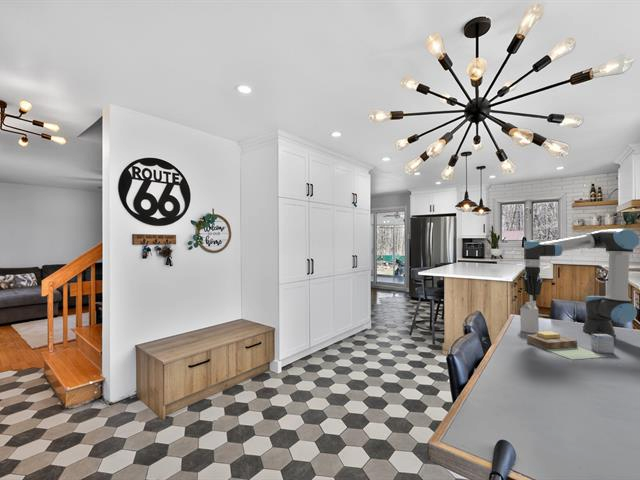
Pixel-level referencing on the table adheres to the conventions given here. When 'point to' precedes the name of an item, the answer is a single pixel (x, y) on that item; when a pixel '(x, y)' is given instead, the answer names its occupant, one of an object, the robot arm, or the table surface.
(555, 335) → the yellow sponge block
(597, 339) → the medicine box
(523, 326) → the milk carton
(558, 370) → the table surface
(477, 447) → the table surface
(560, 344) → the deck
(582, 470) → the table surface
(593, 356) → the mat
